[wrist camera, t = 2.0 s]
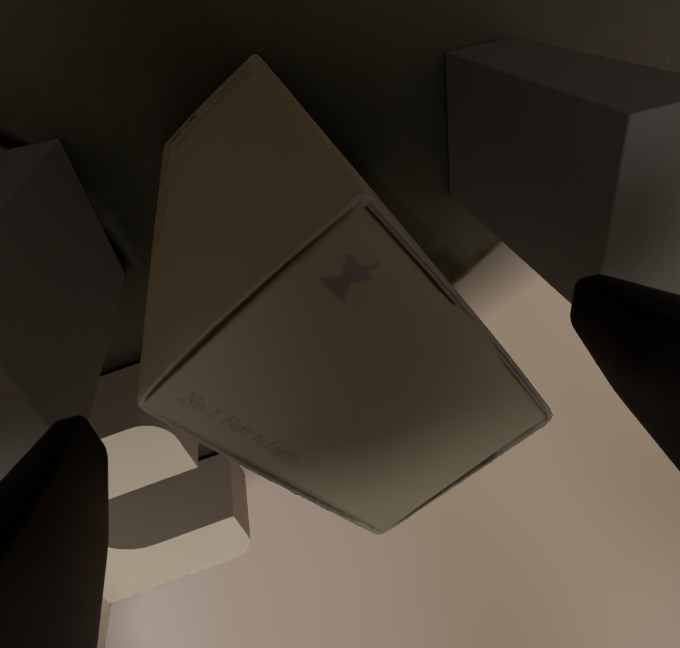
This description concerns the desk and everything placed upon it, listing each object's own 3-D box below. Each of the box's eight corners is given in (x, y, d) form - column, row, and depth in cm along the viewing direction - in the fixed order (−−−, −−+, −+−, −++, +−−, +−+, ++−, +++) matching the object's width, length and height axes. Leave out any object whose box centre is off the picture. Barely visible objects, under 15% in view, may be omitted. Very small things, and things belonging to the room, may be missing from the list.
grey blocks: (60, 291, 18) (-31, 498, 11) (-21, 155, 15) (-215, 319, 8) (506, 179, 20) (680, 299, 13) (512, 36, 17) (744, 86, 10)
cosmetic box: (160, 145, 16) (101, 402, 7) (259, 43, 15) (360, 172, 6) (289, 265, 20) (375, 548, 10) (377, 190, 19) (564, 424, 9)
